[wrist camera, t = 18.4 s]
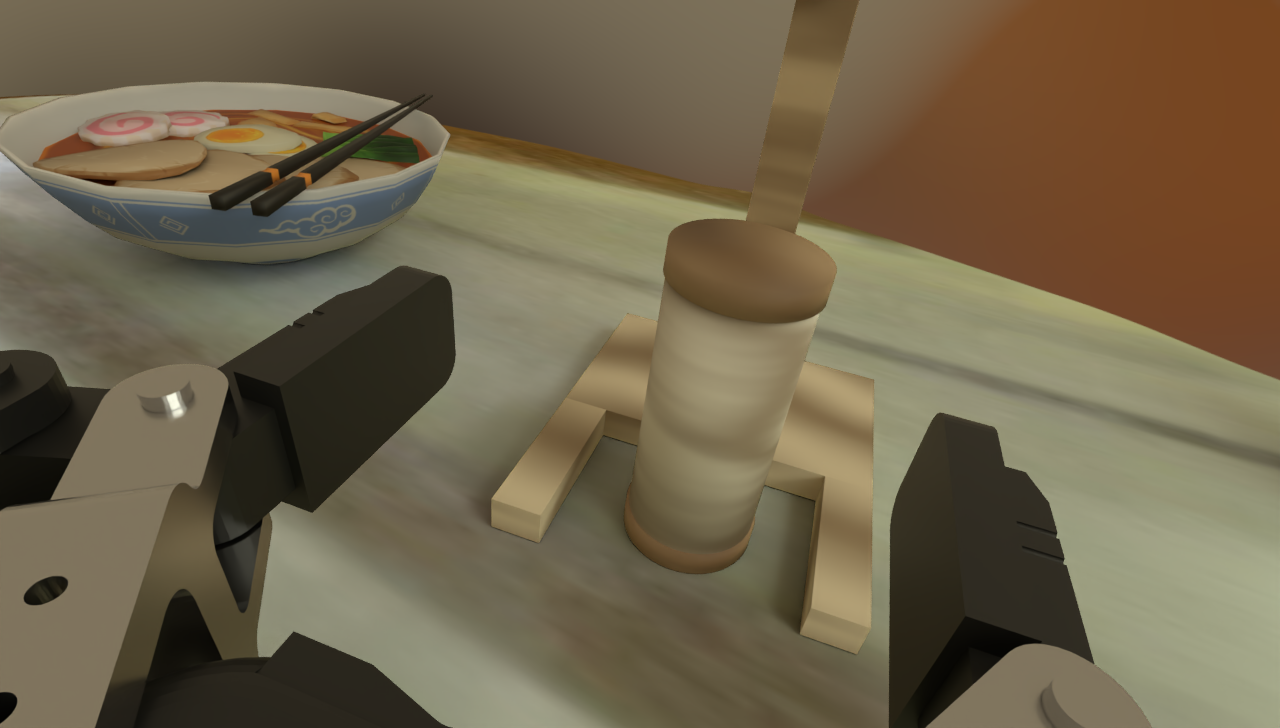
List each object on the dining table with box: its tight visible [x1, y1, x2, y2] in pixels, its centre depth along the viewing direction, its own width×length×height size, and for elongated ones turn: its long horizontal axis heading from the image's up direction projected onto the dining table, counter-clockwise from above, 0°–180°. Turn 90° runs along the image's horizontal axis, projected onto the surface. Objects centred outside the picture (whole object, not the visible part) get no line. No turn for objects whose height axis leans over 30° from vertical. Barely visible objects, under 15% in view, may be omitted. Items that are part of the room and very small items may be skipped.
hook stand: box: [491, 0, 874, 654], centre depth 24 cm, size 16×14×22 cm
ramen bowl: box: [0, 82, 450, 265], centre depth 40 cm, size 25×23×8 cm
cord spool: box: [624, 219, 837, 574], centre depth 23 cm, size 5×5×12 cm
